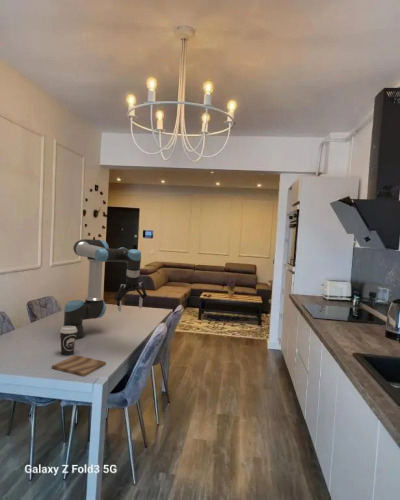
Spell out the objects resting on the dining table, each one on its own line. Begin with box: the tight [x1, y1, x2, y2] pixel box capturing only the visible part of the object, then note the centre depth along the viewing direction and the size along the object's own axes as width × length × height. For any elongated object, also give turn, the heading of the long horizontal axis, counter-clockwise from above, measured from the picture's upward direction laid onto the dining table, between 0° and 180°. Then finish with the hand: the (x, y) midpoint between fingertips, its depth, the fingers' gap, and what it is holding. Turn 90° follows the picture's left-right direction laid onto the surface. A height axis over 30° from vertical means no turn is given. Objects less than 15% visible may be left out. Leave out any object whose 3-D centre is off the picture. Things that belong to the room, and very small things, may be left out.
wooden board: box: [51, 354, 107, 377], centre depth 183 cm, size 20×18×2 cm
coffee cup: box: [59, 325, 77, 356], centre depth 200 cm, size 10×10×15 cm
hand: (129, 309), depth 211 cm, fingers open, 13 cm apart
